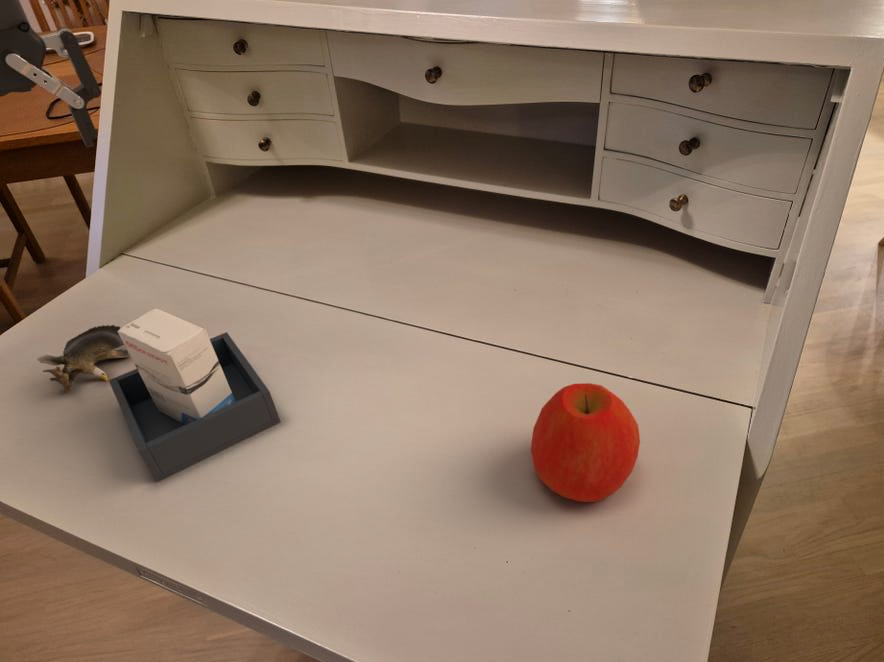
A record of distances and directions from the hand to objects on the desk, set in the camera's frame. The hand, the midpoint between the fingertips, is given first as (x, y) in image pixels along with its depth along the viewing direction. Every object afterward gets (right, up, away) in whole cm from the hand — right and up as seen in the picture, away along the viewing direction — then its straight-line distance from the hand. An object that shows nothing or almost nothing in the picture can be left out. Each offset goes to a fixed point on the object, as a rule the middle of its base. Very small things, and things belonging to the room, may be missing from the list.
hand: (42, 155), depth 63 cm
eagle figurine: (-4, -22, +17) cm, 28 cm away
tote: (+12, -27, +10) cm, 31 cm away
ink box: (+11, -26, +9) cm, 30 cm away
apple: (+54, -32, +1) cm, 62 cm away
